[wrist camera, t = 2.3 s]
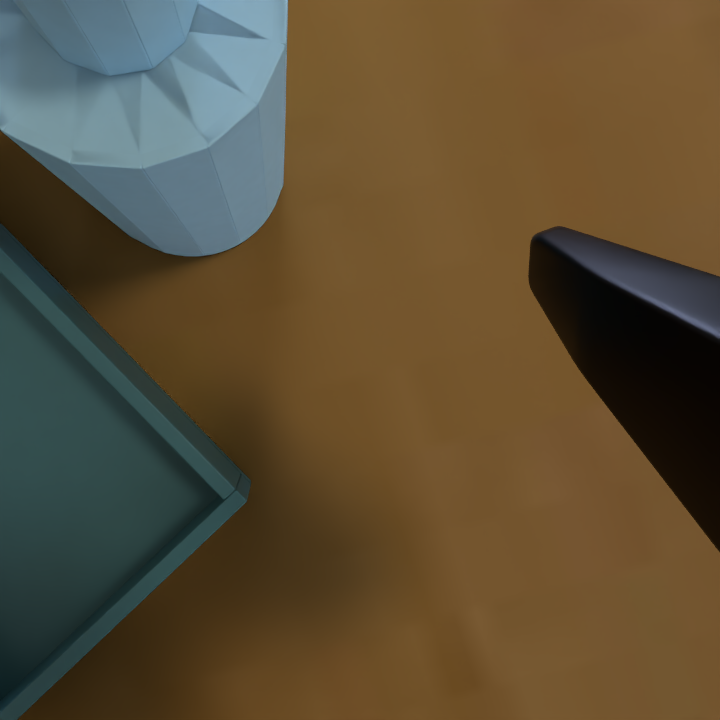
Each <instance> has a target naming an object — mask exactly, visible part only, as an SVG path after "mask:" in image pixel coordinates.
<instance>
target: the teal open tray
mask: <svg viewBox="0 0 720 720" xmlns="http://www.w3.org/2000/svg"><path fill="white" fill-rule="evenodd" d="M250 486H251V480H250V479H249V478H248V477H247V476H246V475H245V474H244V473H243V472H242V471H241V470H240V469H239V468H238V467H237V466H236V465H235V464H234V463H233V462H232V461H231V460H230V459H229V458H228V457H227V455H226V454H225V453H224V452H223V451H222V450H221V449H220V448H219V447H218V446H217V445H216V444H215V443H214V442H213V441H212V440H211V439H210V438H209V437H208V436H207V435H206V434H205V433H204V432H203V431H202V430H201V429H200V428H199V427H198V426H197V425H196V424H195V423H194V421H193V420H192V419H191V418H190V417H189V416H188V415H187V414H186V413H185V412H184V411H183V410H182V409H181V408H180V407H179V406H178V405H177V404H176V403H175V402H174V401H173V400H172V399H171V398H170V397H169V396H168V395H167V394H166V393H165V392H164V391H163V390H162V389H161V387H160V386H159V385H158V384H157V383H156V382H155V381H154V380H153V379H152V378H151V377H150V376H149V375H148V374H147V373H146V372H145V371H144V370H143V369H142V368H141V367H140V366H139V365H138V364H137V363H136V362H135V361H134V360H133V359H132V358H131V357H130V356H129V355H128V354H127V352H126V351H125V350H124V349H123V348H122V347H121V346H120V345H119V344H118V343H117V342H116V341H115V340H114V339H113V338H112V337H111V336H110V335H109V334H108V333H107V332H106V331H105V330H104V329H103V328H102V327H101V326H100V325H99V324H98V323H97V322H96V321H95V320H94V318H93V317H92V316H91V315H90V314H89V313H88V312H87V311H86V310H85V309H84V308H83V307H82V306H81V305H80V304H79V303H78V302H77V301H76V300H75V299H74V298H73V297H72V296H71V295H70V294H69V293H68V292H67V291H66V290H65V289H64V288H63V287H62V286H61V284H60V283H59V282H58V281H57V280H56V279H55V278H54V277H53V276H52V275H51V274H50V273H49V272H48V271H47V270H46V269H45V268H44V267H43V266H42V265H41V264H40V263H39V262H38V261H37V260H36V259H35V258H34V257H33V256H32V255H31V254H30V253H29V252H28V251H27V249H26V248H25V247H24V246H23V245H22V244H21V243H20V242H19V241H18V240H17V239H16V238H15V237H14V236H13V235H12V234H11V233H10V232H9V231H8V230H7V229H6V228H5V227H4V226H3V225H2V224H1V223H0V720H17V719H18V718H19V717H20V716H21V715H22V714H23V713H24V712H26V711H27V710H28V709H29V708H30V707H31V706H32V705H33V704H34V703H35V702H36V701H37V700H38V699H39V698H40V697H41V696H42V695H43V694H44V693H46V692H47V691H48V690H49V689H50V688H51V687H52V686H53V685H54V684H55V683H56V682H57V681H58V680H59V679H60V678H61V677H62V676H63V675H65V674H66V673H67V672H68V671H69V670H70V669H71V668H72V667H73V666H74V665H75V664H76V663H77V662H78V661H79V660H80V659H81V658H82V657H84V656H85V655H86V654H87V653H88V652H89V651H90V650H91V649H92V648H93V647H94V646H95V645H96V644H97V643H98V642H99V641H100V640H101V639H102V638H104V637H105V636H106V635H107V634H108V633H109V632H110V631H111V630H112V629H113V628H114V627H115V626H116V625H117V624H118V623H119V622H120V621H121V620H123V619H124V618H125V617H126V616H127V615H128V614H129V613H130V612H131V611H132V610H133V609H134V608H135V607H136V606H137V605H138V604H139V603H140V602H142V601H143V600H144V599H145V598H146V597H147V596H148V595H149V594H150V593H151V592H152V591H153V590H154V589H155V588H156V587H157V586H158V585H159V584H161V583H162V582H163V581H164V580H165V579H166V578H167V577H168V576H169V575H170V574H171V573H172V572H173V571H174V570H175V569H176V568H177V567H178V566H179V565H181V564H182V563H183V562H184V561H185V560H186V559H187V558H188V557H189V556H190V555H191V554H192V553H193V552H194V551H195V550H196V549H197V548H198V547H200V546H201V545H202V544H203V543H204V542H205V541H206V540H207V539H208V538H209V537H210V536H211V535H212V534H213V533H214V532H215V531H216V530H217V529H219V528H220V527H221V526H222V525H223V524H224V523H225V522H226V521H227V520H228V519H229V518H230V517H231V516H232V515H233V514H234V513H235V512H236V511H237V510H239V509H240V508H241V507H242V506H243V505H244V504H245V503H246V502H247V499H248V494H249V490H250Z"/></svg>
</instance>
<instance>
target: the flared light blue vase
mask: <svg viewBox="0 0 720 720" xmlns="http://www.w3.org/2000/svg"><path fill="white" fill-rule="evenodd" d="M287 19H288V0H0V130H1V131H2V132H3V133H4V134H5V135H7V136H8V137H9V138H10V139H11V140H13V141H14V142H15V143H16V144H18V145H19V146H20V147H21V148H22V149H24V150H25V151H26V152H27V153H29V154H30V155H31V156H32V157H33V158H35V159H36V160H37V161H38V162H40V163H41V164H42V165H43V166H44V167H46V168H47V169H48V170H49V171H51V172H52V173H53V174H54V175H56V176H57V177H58V178H59V179H60V180H62V181H63V182H64V183H65V184H67V185H68V186H69V187H70V188H71V189H73V190H74V191H75V192H76V193H78V194H79V195H80V196H81V197H82V198H84V199H85V200H86V201H87V202H89V203H90V204H91V205H92V206H93V207H95V208H96V209H97V210H98V211H100V212H101V213H102V214H103V215H104V216H106V217H107V218H108V219H109V220H111V221H112V222H113V223H114V224H116V225H117V226H118V227H119V228H120V229H122V230H123V231H124V232H125V233H127V234H128V235H129V236H130V237H132V238H134V239H136V240H138V241H140V242H142V243H144V244H146V245H148V246H149V247H151V248H154V249H157V250H159V251H162V252H164V253H168V254H173V255H180V256H205V255H212V254H216V253H219V252H223V251H226V250H228V249H230V248H233V247H235V246H237V245H239V244H240V243H242V242H244V241H245V240H247V239H248V238H249V237H250V236H252V235H253V234H254V233H255V232H256V231H257V230H258V229H259V228H260V227H261V226H262V225H263V224H264V223H265V221H266V220H267V219H268V217H269V216H270V214H271V212H272V211H273V209H274V207H275V205H276V203H277V200H278V197H279V195H280V191H281V189H282V187H283V177H284V148H285V105H286V62H287Z"/></svg>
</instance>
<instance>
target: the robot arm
mask: <svg viewBox="0 0 720 720" xmlns="http://www.w3.org/2000/svg"><path fill="white" fill-rule="evenodd" d="M528 276H529V284H530V288H531V290H532V292H533V294H534V296H535V297H536V299H537V301H538V302H539V304H540V306H541V307H542V309H543V311H544V312H545V314H546V316H547V317H548V319H549V321H550V322H551V324H552V326H553V328H554V329H555V331H556V333H557V334H558V336H559V338H560V339H561V341H562V343H563V344H564V346H565V348H566V349H567V351H568V353H569V354H570V356H571V358H572V359H573V361H574V362H575V364H576V365H577V367H578V369H579V370H580V371H581V373H582V374H583V375H584V377H585V378H586V380H587V381H588V382H589V384H590V385H591V386H592V387H593V389H594V390H595V391H596V393H597V394H598V395H599V397H600V398H601V399H602V400H603V402H604V403H605V404H606V406H607V407H608V408H609V410H610V411H611V412H612V413H613V415H614V416H615V417H616V419H617V420H618V421H619V422H620V424H621V425H622V426H623V428H624V429H625V430H626V432H627V433H628V434H629V435H630V437H631V438H632V439H633V441H634V442H635V443H636V444H637V446H638V447H639V448H640V450H641V451H642V452H643V454H644V455H645V456H646V457H647V459H648V460H649V461H650V463H651V464H652V465H653V466H654V468H655V469H656V470H657V472H658V473H659V474H660V476H661V477H662V478H663V479H664V481H665V482H666V483H667V485H668V486H669V487H670V489H671V490H672V491H673V492H674V494H675V495H676V496H677V498H678V499H679V500H680V501H681V503H682V504H683V505H684V507H685V508H686V509H687V511H688V512H689V513H690V514H691V516H692V517H693V518H694V520H695V521H696V522H697V523H698V525H699V526H700V527H701V529H702V530H703V531H704V533H705V534H706V535H707V536H708V538H709V539H710V540H711V542H712V543H713V544H714V545H715V547H716V548H717V549H718V551H719V552H720V277H719V276H716V275H713V274H710V273H707V272H704V271H700V270H697V269H694V268H691V267H688V266H685V265H682V264H679V263H675V262H672V261H669V260H666V259H663V258H660V257H657V256H653V255H650V254H647V253H644V252H641V251H638V250H635V249H631V248H628V247H625V246H622V245H619V244H616V243H613V242H610V241H606V240H603V239H600V238H597V237H594V236H591V235H588V234H584V233H581V232H578V231H575V230H572V229H569V228H566V227H562V226H557V227H553V228H550V229H547V230H545V231H542V232H539V233H537V234H535V235H534V236H533V237H532V240H531V244H530V259H529V275H528Z"/></svg>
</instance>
